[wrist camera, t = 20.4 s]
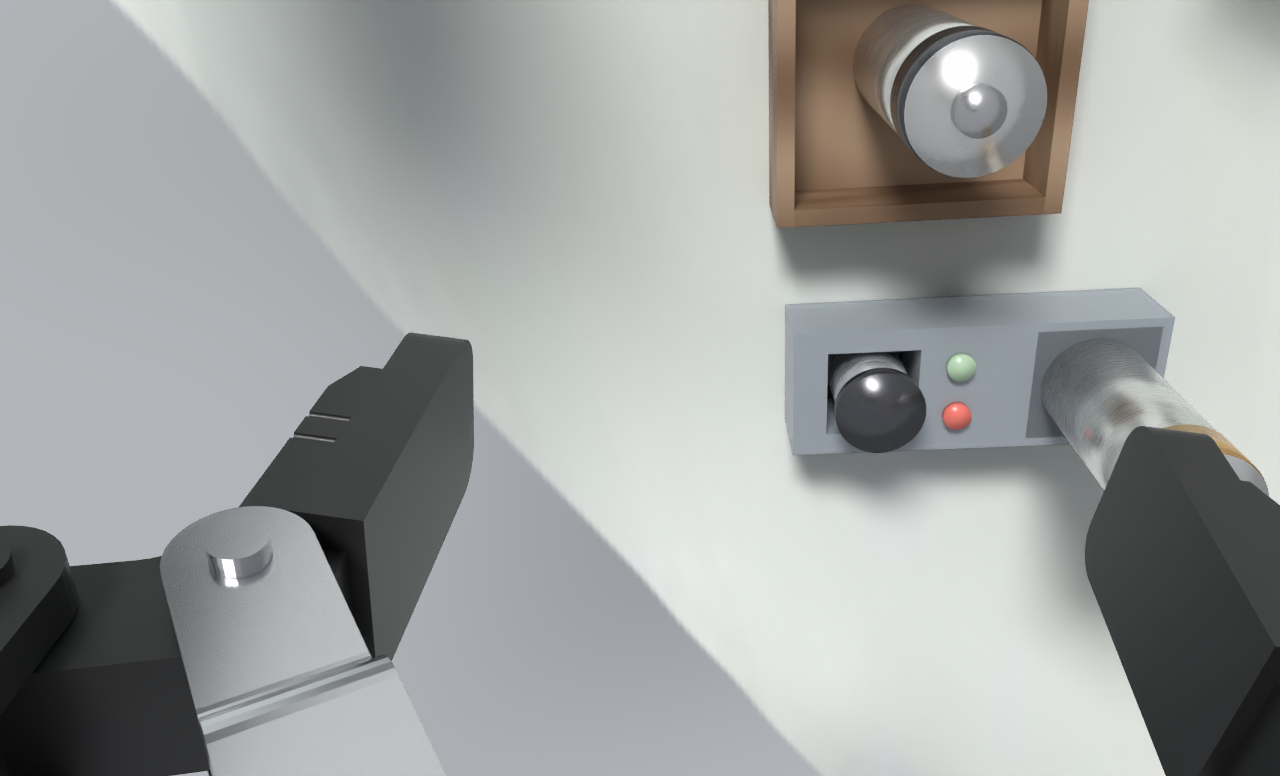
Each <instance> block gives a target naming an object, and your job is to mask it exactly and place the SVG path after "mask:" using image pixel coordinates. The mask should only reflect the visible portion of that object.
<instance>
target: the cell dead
mask: <svg viewBox="0 0 1280 776" xmlns="http://www.w3.org/2000/svg"><path fill="white" fill-rule="evenodd" d="M853 73H854V79H855V82H856V85H857V88H858V90H859V92H860V94H861V95H862V97H863V98H864V99H865V100H866V102H867V103H868V104H869V105H870V106H871V107H872V108H873V109H874V110H875V111H876V112H877V113H878V114H879V115H880V116H881V117H882V118H883V119H884V121H885V122H886V123H887V124H888V125H889V126H890V127H891V128H892V129H893V130H894V131H895V132H896V133H897V134H898V135H899V137H900V138H901V140H902V141H903V142H904V143H905V145H906V146H907V147H908V148H909V149H910V150H911V151H912V152H913V153H914V154H915V155H916V156H917V157H918V159H919V160H920V161H922V162H923V163H924V164H925V165H926V166H928V167H929V168H931V169H932V170H934V171H936V172H938V173H941V174H944V175H947V176H951V177H958V178H973V177H980V176H984V175H988V174H991V173H993V172H996V171H998V170H1000V169H1002V168H1004V167H1006V166H1007V165H1009V164H1010V163H1012V162H1013V161H1015V160H1016V159H1017V158H1018V157H1019V156H1021V155H1022V153H1023V152H1024V151H1025V150H1026V149H1027V148H1028V147H1029V146H1030V144H1031V143H1032V142H1033V140H1034V139H1035V137H1036V135H1037V134H1038V132H1039V130H1040V127H1041V125H1042V123H1043V120H1044V116H1045V112H1046V107H1047V86H1046V82H1045V77H1044V74H1043V72H1042V69H1041V67H1040V65H1039V63H1038V62H1037V60H1036V58H1035V57H1034V56H1033V55H1032V53H1031V52H1030V51H1029V50H1028V49H1027V48H1025V47H1024V46H1023V45H1021V44H1020V43H1019V42H1017V41H1015V40H1013V39H1011V38H1009V37H1006V36H1004V35H1002V34H999V33H997V32H994V31H992V30H990V29H986V28H983V27H978V26H976V25H974V24H971V23H969V22H966V21H964V20H962V19H959V18H957V17H955V16H952V15H950V14H948V13H945V12H943V11H941V10H938V9H936V8H934V7H931V6H927V5H923V4H905V5H901V6H897V7H894V8H892V9H890V10H888V11H886V12H884V13H882V14H881V15H880V16H878V17H877V18H876V19H875V20H874V21H873V22H872V23H871V24H870V25H869V26H868V27H867V28H866V30H865V31H864V33H863V34H862V36H861V38H860V40H859V42H858V44H857V47H856V50H855V55H854V61H853Z"/></svg>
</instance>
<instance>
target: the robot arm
mask: <svg viewBox="0 0 1280 776" xmlns="http://www.w3.org/2000/svg"><path fill="white" fill-rule="evenodd" d="M473 423H474V416H473V353H472V347H471V344H470V342H469V341H468V340H463V339H455V338H448V337H440V336H432V335H425V334H417V333H408V334H407V335H406V336H405V337H404V338H403V340H402V341H401V343H400V345H399V346H398V348H397V349H396V350H395V352H394V353H393V355H392V356H391V358H390V359H389V361H388V362H387V364H386V365H385V367H384V368H383V369H379V368H371V367H363V366H361V367H359V368H357V369H356V370H354V371H353V372H351V373H349V374H347V375H346V376H344V377H343V378H341V379H339V380H337V381H336V382H334V383H333V384H331V385H329V386H328V387H327V389H326V390H325V391H324V393H323V394H322V395H321V397H320V398H319V399H318V401H317V402H316V403H315V405H314V406H313V407H312V409H311V410H310V414H309V417H305V418H304V420H303V421H302V422H301V424H300V425H299V427H298V428H297V429H296V431H295V432H294V438H290V439H289V440H288V441H287V443H286V444H285V446H284V447H283V448H282V449H281V451H280V452H279V454H278V455H277V456H276V458H275V459H274V460H273V462H272V463H271V464H270V466H269V467H268V468H267V470H266V471H265V472H264V474H263V475H262V477H261V478H260V479H259V481H258V482H257V483H256V485H255V486H254V487H253V489H252V490H251V491H250V493H249V494H248V495H247V497H246V498H245V499H244V501H243V502H242V504H241V505H240V506H239V507H238V508H233V509H228V510H224V511H220V512H218V513H214V514H211V515H209V516H207V517H204V518H202V519H200V520H198V521H196V522H194V523H192V524H191V525H189V526H188V527H186V528H185V529H183V530H182V531H181V532H179V533H178V534H177V535H176V536H175V537H174V538H173V539H172V540H171V542H170V543H169V544H168V546H167V547H166V548H165V550H164V553H163V555H162V556H160V557H155V558H151V559H143V560H137V561H126V562H114V563H103V564H92V565H81V566H69V563H68V560H67V556H66V553H65V550H64V548H63V546H62V544H61V542H60V541H59V540H58V539H56V538H55V537H54V536H53V535H51V534H49V533H47V532H46V531H43V530H39V529H37V528H32V527H25V526H0V776H171V775H179V774H186V773H193V772H200V771H208V775H209V776H447V775H446V773H445V771H444V768H443V766H442V764H441V762H440V760H439V758H438V756H437V754H436V752H435V749H434V747H433V745H432V743H431V741H430V739H429V737H428V735H427V733H426V731H425V729H424V726H423V725H422V722H421V720H420V718H419V716H418V714H417V712H416V710H415V708H414V706H413V704H412V702H411V699H410V697H409V695H408V693H407V691H406V689H405V687H404V685H403V683H402V680H401V678H400V676H399V674H398V672H397V670H396V668H395V667H394V665H393V663H392V662H391V661H392V659H393V657H394V654H395V652H396V650H397V647H398V645H399V643H400V641H401V638H402V636H403V634H404V631H405V629H406V627H407V624H408V622H409V620H410V618H411V615H412V613H413V611H414V608H415V606H416V604H417V601H418V599H419V597H420V595H421V592H422V590H423V588H424V585H425V583H426V581H427V578H428V576H429V574H430V572H431V570H432V567H433V565H434V563H435V560H436V558H437V555H438V553H439V551H440V549H441V546H442V544H443V542H444V540H445V537H446V535H447V533H448V531H449V528H450V526H451V524H452V521H453V519H454V517H455V514H456V512H457V510H458V507H459V505H460V503H461V500H462V498H463V496H464V494H465V491H466V488H467V485H468V481H469V477H470V473H471V467H472V460H473V450H474V449H473V448H474V424H473ZM1085 564H1086V571H1087V575H1088V578H1089V581H1090V584H1091V586H1092V589H1093V591H1094V594H1095V596H1096V599H1097V602H1098V604H1099V607H1100V609H1101V612H1102V614H1103V617H1104V619H1105V622H1106V625H1107V627H1108V630H1109V632H1110V635H1111V637H1112V640H1113V642H1114V645H1115V647H1116V650H1117V653H1118V655H1119V658H1120V660H1121V663H1122V665H1123V668H1124V670H1125V673H1126V676H1127V678H1128V681H1129V683H1130V686H1131V688H1132V691H1133V693H1134V696H1135V698H1136V701H1137V704H1138V706H1139V709H1140V711H1141V714H1142V716H1143V719H1144V721H1145V724H1146V726H1147V729H1148V732H1149V734H1150V737H1151V739H1152V742H1153V744H1154V747H1155V749H1156V752H1157V755H1158V757H1159V760H1160V762H1161V765H1162V767H1163V770H1164V772H1165V775H1166V776H1280V505H1279V504H1277V503H1276V502H1275V501H1274V500H1272V499H1271V498H1270V497H1269V496H1267V495H1266V494H1265V493H1264V492H1262V491H1261V490H1260V489H1259V488H1257V487H1256V486H1255V485H1254V484H1252V483H1251V482H1249V481H1242V480H1240V479H1239V477H1238V476H1237V474H1236V473H1235V471H1234V470H1233V468H1232V467H1231V465H1230V464H1229V462H1228V461H1227V459H1226V458H1225V456H1224V455H1223V453H1222V452H1221V450H1220V449H1219V447H1218V446H1217V444H1216V442H1215V441H1214V440H1213V439H1212V438H1211V437H1210V436H1209V435H1206V434H1201V433H1194V432H1186V431H1178V430H1171V429H1163V428H1155V427H1147V426H1139V427H1136V428H1135V429H1134V430H1133V431H1132V432H1131V433H1130V434H1129V436H1128V437H1127V439H1126V441H1125V443H1124V445H1123V447H1122V450H1121V452H1120V455H1119V457H1118V459H1117V462H1116V464H1115V467H1114V469H1113V471H1112V474H1111V476H1110V479H1109V481H1108V483H1107V486H1106V488H1105V490H1104V493H1103V495H1102V498H1101V500H1100V502H1099V505H1098V507H1097V510H1096V512H1095V514H1094V517H1093V519H1092V522H1091V524H1090V527H1089V530H1088V534H1087V539H1086V547H1085Z"/></svg>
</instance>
